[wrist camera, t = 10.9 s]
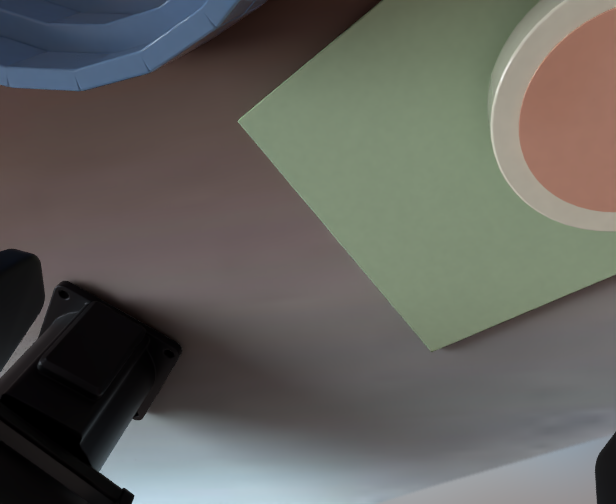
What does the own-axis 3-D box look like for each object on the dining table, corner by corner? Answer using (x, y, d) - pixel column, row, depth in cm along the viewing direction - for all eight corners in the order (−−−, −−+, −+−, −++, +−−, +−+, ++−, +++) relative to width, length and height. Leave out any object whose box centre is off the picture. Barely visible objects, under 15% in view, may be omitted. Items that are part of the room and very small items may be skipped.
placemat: (431, 346, 23) (431, 352, 22) (240, 117, 19) (236, 121, 19) (1154, 37, 13) (1173, 40, 13) (1035, -545, 9) (1057, -562, 9)
